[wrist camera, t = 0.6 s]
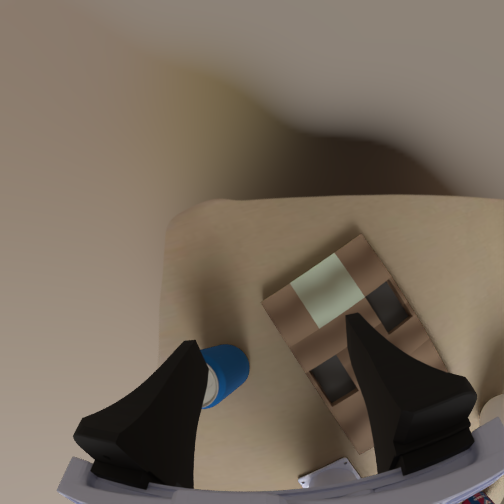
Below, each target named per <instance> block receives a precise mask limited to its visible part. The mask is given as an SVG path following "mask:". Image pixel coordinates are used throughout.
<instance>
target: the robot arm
mask: <svg viewBox="0 0 504 504" xmlns="http://www.w3.org/2000/svg"><path fill="white" fill-rule="evenodd" d="M345 320H346V334H347V348H348V353H349V357H350V361H351V365H352V368H353V371H354V373H355V376H356V379H357V382H358V384H359V387H360V390H361V393H362V395H363V398H364V401H365V404H366V408H367V412H368V417H369V421H370V426H371V432H372V437H373V443H374V449H375V456H376V463H377V471H378V474H376V475H373V476H369V477H365V478H361V477H360V476H359V474H358V473H357V472H356V470H355V469H354V467H353V466H352V464H351V463H350V462H349V460H348V459H347V458H346V457H344V458H341V459H339V460H337V461H335V462H333V463H331V464H329V465H327V466H325V467H323V468H321V469H319V470H316V471H314V472H312V473H310V474H307V475H305V476H303V477H300V478H299V479H298V482H299V483H300V484H301V486H302V487H303V488H302V489H292V490H279V491H257V492H234V491H212V490H199V489H194V482H193V470H194V451H195V440H196V431H197V425H198V421H199V417H200V413H201V409H202V405H203V401H204V397H205V393H206V389H207V383H208V374H209V368H208V366H207V364H206V362H205V359H204V357H203V355H202V353H201V351H200V349H199V347H198V344H197V342H196V340H189V341H184V342H183V343H182V344H181V345H180V346H179V347H178V348H177V349H176V350H175V351H174V352H173V353H172V354H171V356H170V357H169V358H168V359H167V360H166V361H165V362H164V363H163V364H162V365H161V366H160V367H159V368H158V369H157V370H156V372H154V373H153V374H152V375H151V376H150V377H149V378H148V379H147V380H146V381H145V382H144V383H142V384H141V385H140V386H139V387H138V388H136V389H135V390H134V391H132V392H131V393H130V394H128V395H127V396H125V397H124V398H122V399H121V400H119V401H118V402H116V403H114V404H112V405H111V406H109V407H107V408H105V409H103V410H101V411H99V412H96V413H94V414H92V415H89V416H87V417H84V418H82V420H81V422H80V423H79V426H78V427H77V429H76V431H75V433H74V435H73V437H74V440H75V441H76V443H77V444H78V445H79V446H80V447H81V448H82V449H83V450H84V451H85V452H86V453H88V454H89V455H90V456H91V457H92V458H93V459H95V461H94V463H93V464H92V463H90V462H88V461H86V460H82V459H79V458H77V457H72V459H71V461H70V463H69V465H68V467H67V469H66V471H65V473H64V476H63V478H62V480H61V482H60V484H59V486H58V489H57V491H58V493H60V494H62V495H63V496H65V497H66V498H68V499H69V500H71V501H73V502H74V503H76V504H458V503H460V502H462V501H463V500H465V499H467V498H469V497H471V496H473V495H474V494H476V493H478V492H480V491H481V490H483V489H485V488H486V487H488V486H490V485H491V484H493V483H494V482H495V481H497V480H498V479H499V478H500V477H501V476H502V475H503V474H504V426H503V424H502V422H501V420H500V418H499V417H496V418H494V419H492V420H491V421H489V422H487V423H485V424H484V425H482V426H480V427H478V428H477V429H475V430H474V431H473V432H472V433H471V432H470V429H469V427H470V425H471V423H470V421H469V419H468V416H469V415H470V413H471V411H472V409H473V407H474V405H475V403H476V400H477V394H476V392H475V391H474V389H473V387H472V385H471V384H470V383H469V381H468V380H467V379H466V377H463V376H459V375H455V374H452V373H448V372H445V371H442V370H439V369H437V368H434V367H432V366H429V365H427V364H425V363H423V362H421V361H419V360H417V359H415V358H413V357H411V356H410V355H408V354H406V353H405V352H403V351H402V350H400V349H399V348H398V347H396V346H395V345H394V344H392V343H391V342H390V341H388V340H387V339H386V338H385V337H384V336H382V335H381V334H380V333H379V332H378V331H377V330H376V329H375V328H374V327H373V326H371V325H370V324H369V323H368V322H367V321H366V320H365V319H364V317H363V316H362V315H361V314H360V313H358V312H357V313H353V314H348V315H345ZM344 462H347V463H344ZM302 482H304V483H302Z"/></svg>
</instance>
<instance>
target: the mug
mask: <svg viewBox="0 0 504 504" xmlns="http://www.w3.org/2000/svg"><path fill="white" fill-rule="evenodd" d="M462 504H494V503H493V501H492V500H491V499H490V498H489V497H488V496H487V495H486V494H485V493H484V492H478V493H476V494H474V495H473V496H471V497H469V498H467V499H466V500H465V501H464V502H463V503H462Z"/></svg>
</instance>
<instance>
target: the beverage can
mask: <svg viewBox="0 0 504 504" xmlns="http://www.w3.org/2000/svg"><path fill="white" fill-rule="evenodd" d="M200 351H201V353H202V355H203V357H204V359H205V362H206V364H207V366H208V368H209V374H208V383H207V389H206V393H205V397H204V401H203V405H202V409H207V408H211V407H213V406H215V405H217V404H218V403H219V402H221V401H222V400H223V399H224V398H226V397H227V396H228V395H229V394H231V393H232V392H233V391H234V390H236V389H237V388H238V387H239V386H240V385H242V384H243V383H244V382H245V380H246V379H247V377H248V375H249V362H248V359H247V357H246V355H245V354H244V353H243V352H242V351H241V350H240V349H239V348H237V347H235V346H233V345H228V344H223V345H218V346H214V347H210V348H207V349H203V350H200Z"/></svg>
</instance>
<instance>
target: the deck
mask: <svg viewBox="0 0 504 504" xmlns="http://www.w3.org/2000/svg"><path fill="white" fill-rule="evenodd" d="M261 304H262V305H263V307H264V309H265V310H266V312H267V313H268V315H269V317H270V318H271V320H272V321H273V323H274V325H275V326H276V328H277V329H278V331H279V332H280V334H281V336H282V337H283V339H284V340H285V342H286V343H287V345H288V347H289V348H290V350H291V351H292V353H293V354H294V356H295V358H296V359H297V361H298V362H299V364H300V365H301V367H302V368H303V370H304V372H305V373H306V375H307V376H308V378H309V379H310V381H311V382H312V384H313V385H314V387H315V389H316V390H317V392H318V393H319V395H320V396H321V398H322V399H323V401H324V402H325V404H326V405H327V407H328V408H329V410H330V411H331V413H332V414H333V416H334V417H335V419H336V421H337V422H338V424H339V425H340V427H341V428H342V430H343V431H344V433H345V434H346V436H347V437H348V438H349V440H350V441H351V443H352V444H353V446H354V447H355V449H356V450H357V452H358V453H359V455H360V454H362V453H364V452H365V451H367V450H369V449H371V448H372V447H374V443H373V437H372V432H371V426H370V421H369V417H368V412H367V408H366V404H365V401H364V398H363V395H362V393H361V390H360V387H359V384H358V382H357V379H356V376H355V373H354V371H353V368H352V365H351V361H350V357H349V353H348V348H347V334H346V320H345V315H348V314H353V313H357V312H358V313H360V314H361V315H362V316H363V317H364V319H365V320H366V321H367V322H368V323H369V324H370V325H371V326H373V327H374V328H375V329H376V330H377V331H378V332H379V333H380V334H381V335H382V336H384V337H385V338H386V339H387V340H388V341H390V342H391V343H392V344H394V345H395V346H396V347H398V348H399V349H400V350H402V351H403V352H405V353H406V354H408V355H410V356H411V357H413V358H415V359H417V360H419V361H421V362H423V363H425V364H427V365H429V366H432V367H434V368H437V369H439V370H442V371H445V372H448V371H447V369H446V367H445V365H444V363H443V361H442V359H441V358H440V356H439V354H438V352H437V350H436V348H435V347H434V345H433V343H432V341H431V339H430V338H429V336H428V334H427V332H426V331H425V329H424V327H423V326H422V324H421V322H420V320H419V319H418V317H417V315H416V314H415V312H414V311H413V309H412V307H411V306H410V304H409V302H408V301H407V299H406V298H405V296H404V295H403V293H402V291H401V290H400V288H399V287H398V285H397V284H396V282H395V281H394V279H393V278H392V276H391V275H390V273H389V272H388V270H387V269H386V267H385V266H384V264H383V263H382V262H381V260H380V259H379V257H378V256H377V254H376V253H375V252H374V250H373V249H372V247H371V246H370V245H369V243H368V242H367V241H366V239H365V238H364V236H363V235H362V234H360V235H358V236H357V237H356V238H354V239H353V240H351V241H350V242H349V243H347V244H346V245H344V246H343V247H342V248H340V249H339V250H337V251H336V252H334V253H333V254H332V255H330V256H329V257H327V258H326V259H324V260H323V261H322V262H320V263H319V264H317V265H316V266H314V267H313V268H311V269H310V270H308V271H307V272H306V273H304V274H303V275H301V276H300V277H298V278H297V279H295V280H294V281H292V282H291V283H289V284H288V285H286V286H285V287H283V288H282V289H280V290H279V291H277V292H276V293H274V294H273V295H271V296H269V297H268V298H266V299H265V300H263V301H262V302H261Z"/></svg>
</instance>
